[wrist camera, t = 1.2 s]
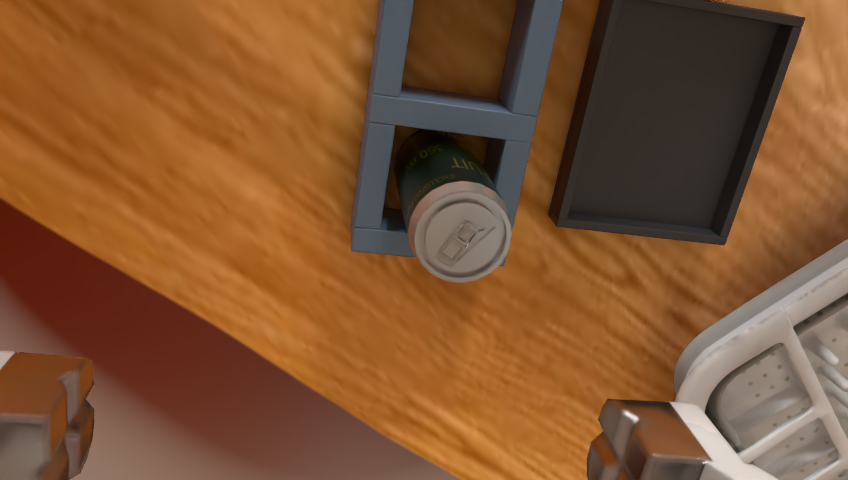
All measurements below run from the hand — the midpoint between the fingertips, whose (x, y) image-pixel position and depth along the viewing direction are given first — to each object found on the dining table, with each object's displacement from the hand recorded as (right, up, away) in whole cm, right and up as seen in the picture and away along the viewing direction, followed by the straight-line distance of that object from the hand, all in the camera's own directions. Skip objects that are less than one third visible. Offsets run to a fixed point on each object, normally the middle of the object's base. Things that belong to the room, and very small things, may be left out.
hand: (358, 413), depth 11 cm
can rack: (+2, +11, +33) cm, 35 cm away
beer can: (+2, +8, +35) cm, 36 cm away
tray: (+17, +11, +35) cm, 40 cm away
